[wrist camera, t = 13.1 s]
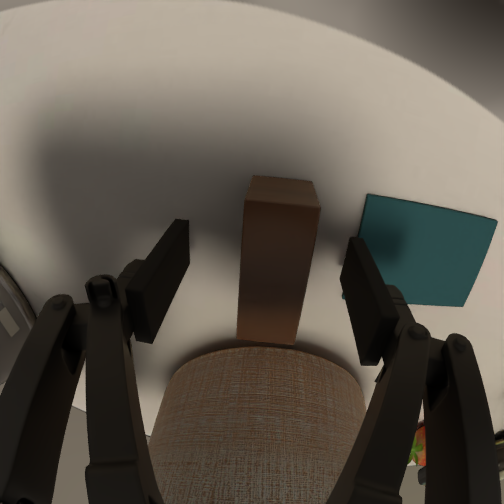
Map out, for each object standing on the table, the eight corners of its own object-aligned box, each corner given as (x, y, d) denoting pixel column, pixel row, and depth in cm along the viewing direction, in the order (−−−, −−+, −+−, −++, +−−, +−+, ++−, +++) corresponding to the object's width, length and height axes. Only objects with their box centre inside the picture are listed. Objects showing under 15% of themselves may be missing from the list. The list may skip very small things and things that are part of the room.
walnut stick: (252, 174, 16) (244, 198, 13) (312, 181, 16) (321, 207, 12) (243, 296, 20) (236, 339, 16) (293, 301, 20) (294, 345, 16)
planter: (254, 453, 32) (241, 565, 18) (135, 381, 26) (80, 521, 13) (390, 405, 25) (412, 549, 12) (284, 296, 20) (271, 562, 6)
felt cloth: (341, 296, 19) (342, 299, 19) (366, 193, 16) (368, 195, 16) (461, 304, 19) (463, 307, 19) (495, 219, 15) (498, 221, 15)
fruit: (470, 453, 22) (415, 472, 22) (447, 457, 26) (394, 472, 26) (466, 412, 25) (411, 427, 25) (444, 420, 29) (392, 432, 29)
